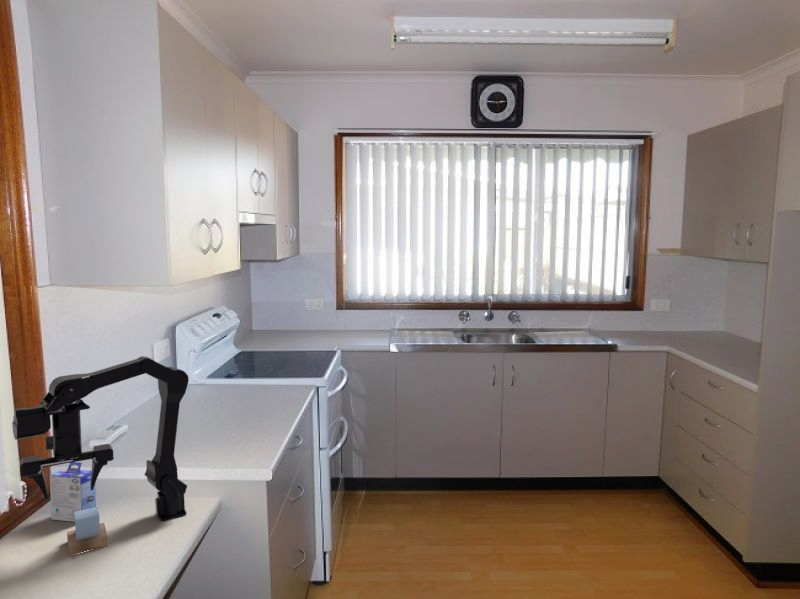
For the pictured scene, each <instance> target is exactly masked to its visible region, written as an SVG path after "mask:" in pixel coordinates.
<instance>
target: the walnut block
mask: <svg viewBox="0 0 800 599" xmlns="http://www.w3.org/2000/svg"><path fill="white" fill-rule="evenodd" d="M66 536H67V537H66V538H67V548H68V556H69V557H73V556H76V555H75V554H77V555H79V554H78V553H81V552H84V551H87V550H91V549H95V550H97V549H96V548H99V549H101V548H100V547H103V546H106V547H109V541H108V540H109V538H108V537H109V536H108V532H107V528H106V525H105V522H101V523H100V535H97V536H93V537H89V538H85V539H81V540H77V541H76V529H73V530H68V531H66ZM103 548H104V547H103ZM84 553H85V552H84ZM81 554H82V553H81ZM72 555H73V556H72Z"/></svg>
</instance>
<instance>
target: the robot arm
mask: <svg viewBox="0 0 800 599" xmlns="http://www.w3.org/2000/svg"><path fill="white" fill-rule="evenodd" d="M144 374H146V375H148V376H150V377H151V378H154V379H156V380H157V386H158V393H159V397H160V399H161V400H160V402H161V404H160V412H159V420H158V428H157V429H158V432H157V438H156V447H155V454H154V456H153V458H152V460H150V459H149V460H148V459H147V460H146V463H145V464H146V469H145V472H144V476H145V477H146V480H147V482H148V483H149V484H150V485H151V486H152V487H154V488H155V489H156V490H157V497H156V498H155V500H154V502H155V503H154V504H155V514H156V516H157V517H158V518H159V520H160V521H161V522H162V521H166V520H169V519H174V518H178V517H181V516H186V515H187V511H186V509H185V507H186V505H185V504H186V503H185V494H186V491H187V488H188V485H187V484H186V483H184V482H183V481H182V480H180V479H179V476H178V474H179V473H178V467H177V463H176V459H175V448H176V440H177V432H178V431H177V430H178V422H179V414H180V412H179V411H180V404H181V401H182V400H183V397H184V396H185V394H186V391H187V388H188V385H189V380H190V379H189V378H190V377H189V375H188V373H186V371H184V370H183V369H180V368H177V367H173V366H166V365H164V364H161V363H159V362H157V361H155V360H154V359H153V358H151V357H149V356H143V355H141V356H139V357H137V358H135V359H132V360H128V361H125V362H122V363H119V364H116V365H112V366H109V367H106V368H102V369H99V370H96V371H92V372H87V373H76V374H75V373H74V374H68V375H61V376H57V377H55V378H54V379H52V381H51V382H50V384H49V387H48V392H47V393H46V394H45V396H44V397H43V399H42V400H41V401H40V403H39V404H38V406H31V407H19V408H14V410H13V412H14V413H13V417H12V418H13V420H12V422H11V425H12V426H11V427H12V433H13V438H14V440H16V441H18V440H23V439H27V438H34V437H39V436H43V435H46V433H48V432H49V430H51V427H52V435H50V436H46V437H45V448H46V449H45V450H46V451H52V455H53V456H52V457H47V458H46V457H45V458H42V459H41V456H42V455H41V454H38V455H37V454H36V455H30V456H25V457H24V456H23V457H22V458H21V459H20V463H19V471H20V474H19V476H20V477H27V479H28V480H29V479H30V480H31V479H33V480H34V482H35V483H36V485H37V486H38V487H39V489H40V491H41V493H42V495H43V497H44V499H45V500H46V501H47V500H48V498H49V497H48V487H47V482H46V478H45V472H44V468H47V467H52V466H58V465H64V464H70V463H71V462H81V461H86V460H88V461H89V460H91V481H90V487H91V491H92V490H93V488H94V485H95V486H96V482H97V480H98V477H99V474H100V473H101V471H102V469H103V467H104V466H107V465H108V462H111V461H113V460H114V449H113V446H112V445H111V444H109V443H106V444H98V445H93V447H92V450H89V451H83V449H82V428H81V427H82V424H81V423H82V422H81V421H82V420H81V411H84V410H90V408H91V407H90V405H89V404H87V403H85V402H84V400H83V398H84V399H85V397H87V396H89V395H90V394H92V393H93V392H94V391H97V390H98V389H99V390H100V389H101V388H104V387H108V386H111V385H114V384H117V383H120V382H123V381H126V380H129V379H132V378H136V377H139V376H141V375H144ZM51 420H52V421H51ZM51 425H52V426H51Z"/></svg>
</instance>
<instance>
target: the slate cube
mask: <svg viewBox="0 0 800 599" xmlns="http://www.w3.org/2000/svg"><path fill="white" fill-rule="evenodd" d="M74 526H75V529H74V530H76V541H77V540H81V539H85V538H89V537H93V536H97V535H100V512H99V507H98V506H96V507H95V508H90V509H86V510H81V511H77V512H75V522H74Z"/></svg>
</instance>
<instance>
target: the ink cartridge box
mask: <svg viewBox="0 0 800 599" xmlns="http://www.w3.org/2000/svg"><path fill="white" fill-rule="evenodd" d="M68 464H69V465H68V467H67V468H64V469H61V470H59V471H57V472H55V473H52V474H50V475H49V488H50V489H49V490H50V510H51V511H50V512H51V514H50V515H51V517H50V518H51V520H52V521H64V522H73V523H75V512H77V511H81V510H86V509H90V508H95V507H97V497H96V496H97V495H96V494H97V493H96V484H95V485H94V488H93V490H92V491H91V487H90V481H91V471H92V469H91V470H90V469H89V470H88V469H87V470H86V469H81V468H82V464H83V462H80V461H77V462H71V463H68ZM72 466H78V467H76V468H75V467H72Z"/></svg>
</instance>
